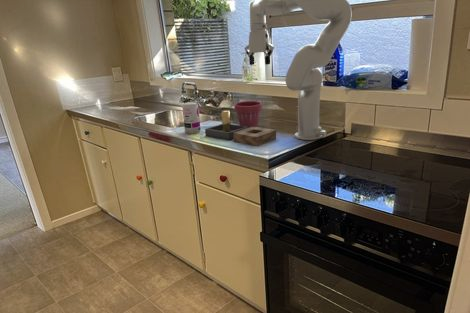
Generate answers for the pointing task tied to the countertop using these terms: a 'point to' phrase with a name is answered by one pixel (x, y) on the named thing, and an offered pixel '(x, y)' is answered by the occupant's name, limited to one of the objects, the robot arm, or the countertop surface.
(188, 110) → the supplement can
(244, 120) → the plant pot
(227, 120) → the brass pin
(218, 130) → the black tray
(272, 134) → the wooden block with hole
